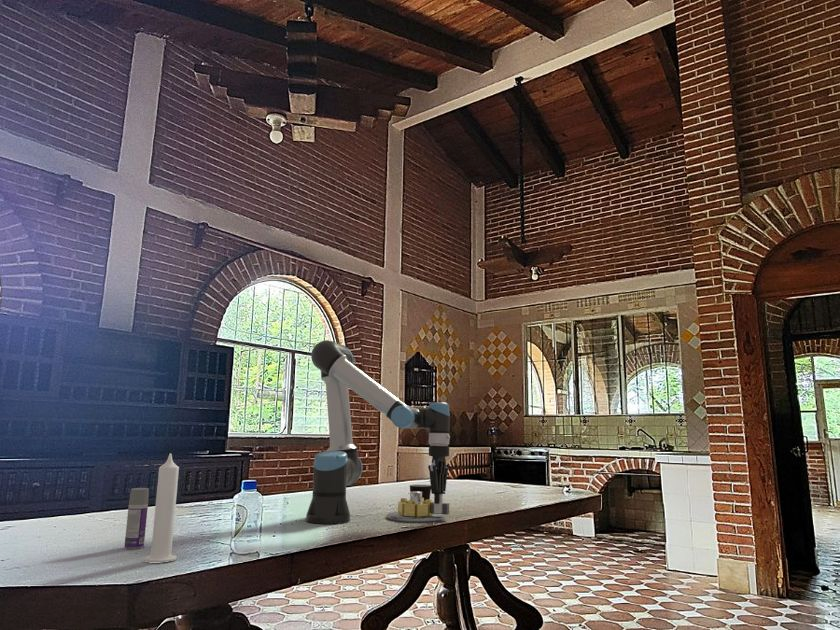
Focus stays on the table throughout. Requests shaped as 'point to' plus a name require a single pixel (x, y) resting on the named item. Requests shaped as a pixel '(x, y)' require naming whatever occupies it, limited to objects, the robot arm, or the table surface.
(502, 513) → the table surface
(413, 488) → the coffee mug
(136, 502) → the container
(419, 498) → the flange plate
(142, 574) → the table surface
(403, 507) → the toy block cluster
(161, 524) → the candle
